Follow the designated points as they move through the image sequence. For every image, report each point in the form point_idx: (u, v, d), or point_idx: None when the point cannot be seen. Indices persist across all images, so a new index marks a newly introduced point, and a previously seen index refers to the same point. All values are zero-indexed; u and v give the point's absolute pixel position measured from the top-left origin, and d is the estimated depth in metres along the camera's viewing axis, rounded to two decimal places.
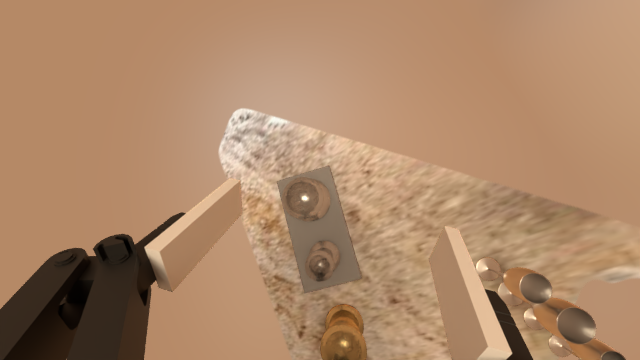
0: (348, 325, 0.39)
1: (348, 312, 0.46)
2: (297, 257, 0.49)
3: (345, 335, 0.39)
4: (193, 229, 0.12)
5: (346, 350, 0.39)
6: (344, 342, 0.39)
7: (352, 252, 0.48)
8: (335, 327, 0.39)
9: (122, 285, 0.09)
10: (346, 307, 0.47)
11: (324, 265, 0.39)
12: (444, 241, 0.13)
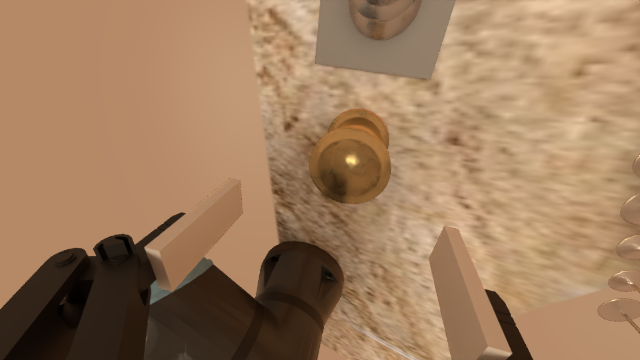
0: (376, 139, 0.20)
1: (374, 125, 0.27)
2: None
3: (363, 151, 0.21)
4: (193, 229, 0.12)
5: (353, 173, 0.22)
6: (355, 160, 0.21)
7: (446, 14, 0.21)
8: (351, 132, 0.20)
9: (122, 285, 0.09)
10: (374, 117, 0.27)
11: None
12: (444, 241, 0.13)
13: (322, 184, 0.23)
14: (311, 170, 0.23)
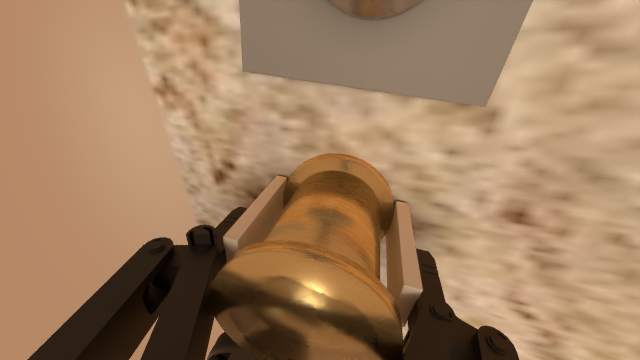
0: (364, 282, 0.07)
1: (365, 189, 0.14)
2: None
3: (330, 306, 0.08)
4: (257, 221, 0.13)
5: (311, 338, 0.09)
6: (314, 319, 0.08)
7: None
8: (296, 265, 0.07)
9: (202, 273, 0.09)
10: (365, 172, 0.14)
11: None
12: (394, 213, 0.15)
13: (247, 342, 0.10)
14: (218, 317, 0.10)
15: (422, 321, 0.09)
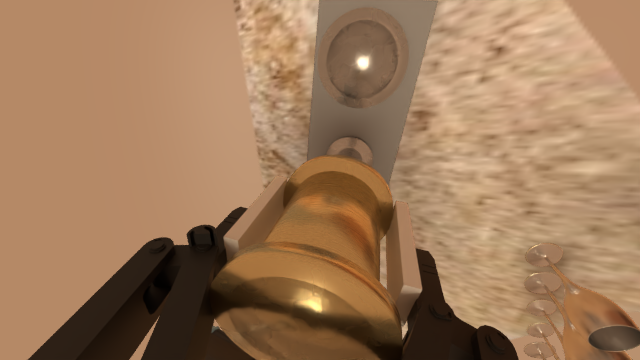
0: (364, 283, 0.07)
1: (365, 190, 0.14)
2: (310, 143, 0.33)
3: (330, 307, 0.08)
4: (257, 221, 0.13)
5: (311, 340, 0.09)
6: (313, 320, 0.08)
7: (389, 170, 0.32)
8: (296, 266, 0.07)
9: (202, 273, 0.09)
10: (365, 173, 0.14)
11: None
12: (394, 213, 0.15)
13: (247, 343, 0.10)
14: (218, 319, 0.10)
15: (421, 321, 0.09)
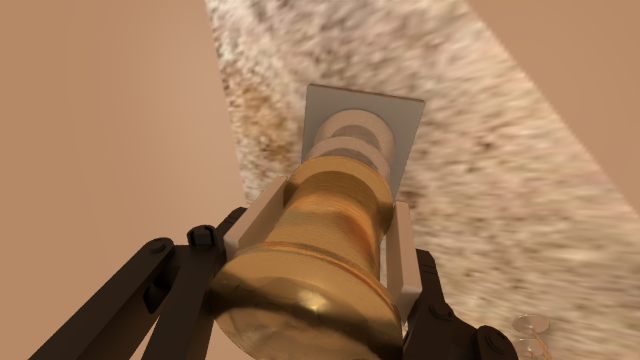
0: (364, 283, 0.07)
1: (365, 189, 0.14)
2: None
3: (329, 306, 0.08)
4: (257, 221, 0.13)
5: (311, 339, 0.09)
6: (313, 321, 0.08)
7: None
8: (295, 266, 0.07)
9: (202, 273, 0.09)
10: (365, 173, 0.14)
11: None
12: (394, 213, 0.15)
13: (247, 343, 0.10)
14: (218, 319, 0.10)
15: (421, 321, 0.09)
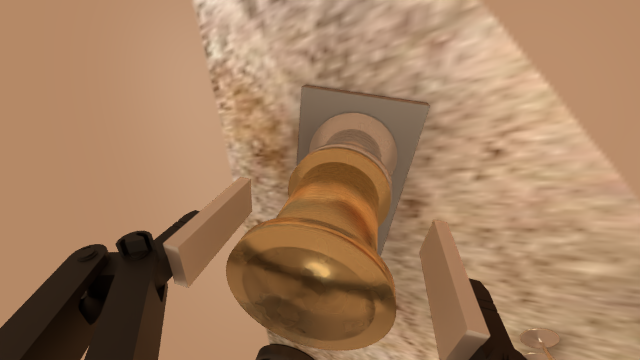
0: (362, 251, 0.09)
1: (364, 178, 0.15)
2: None
3: (333, 272, 0.09)
4: (208, 226, 0.12)
5: (316, 305, 0.10)
6: (318, 287, 0.10)
7: (378, 253, 0.30)
8: (304, 236, 0.09)
9: (141, 281, 0.09)
10: (364, 163, 0.15)
11: None
12: (433, 234, 0.14)
13: (258, 312, 0.12)
14: (233, 289, 0.11)
15: None
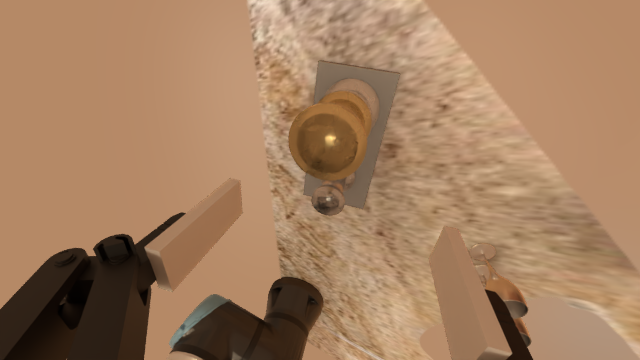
0: (352, 113, 0.21)
1: (356, 106, 0.27)
2: None
3: (339, 126, 0.21)
4: (193, 229, 0.12)
5: (331, 148, 0.22)
6: (333, 136, 0.22)
7: (367, 185, 0.42)
8: (328, 106, 0.21)
9: (122, 285, 0.09)
10: (356, 99, 0.28)
11: (333, 203, 0.35)
12: (444, 241, 0.13)
13: (301, 160, 0.24)
14: (290, 146, 0.23)
15: None
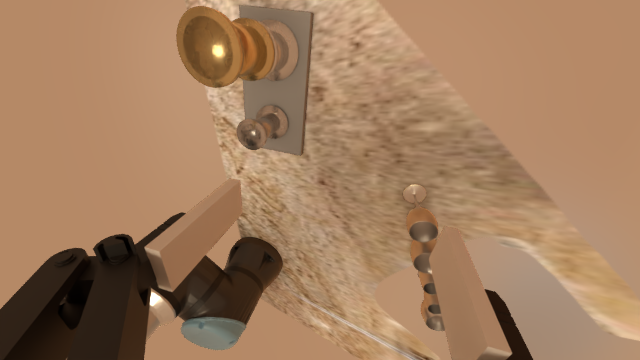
0: (221, 14, 0.23)
1: (254, 30, 0.30)
2: (246, 110, 0.46)
3: (213, 27, 0.24)
4: (193, 229, 0.12)
5: (212, 52, 0.25)
6: (210, 39, 0.25)
7: (300, 130, 0.45)
8: (200, 8, 0.23)
9: (122, 285, 0.09)
10: (255, 24, 0.30)
11: (255, 136, 0.38)
12: (444, 241, 0.13)
13: (192, 69, 0.27)
14: (181, 55, 0.26)
15: None
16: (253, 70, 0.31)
